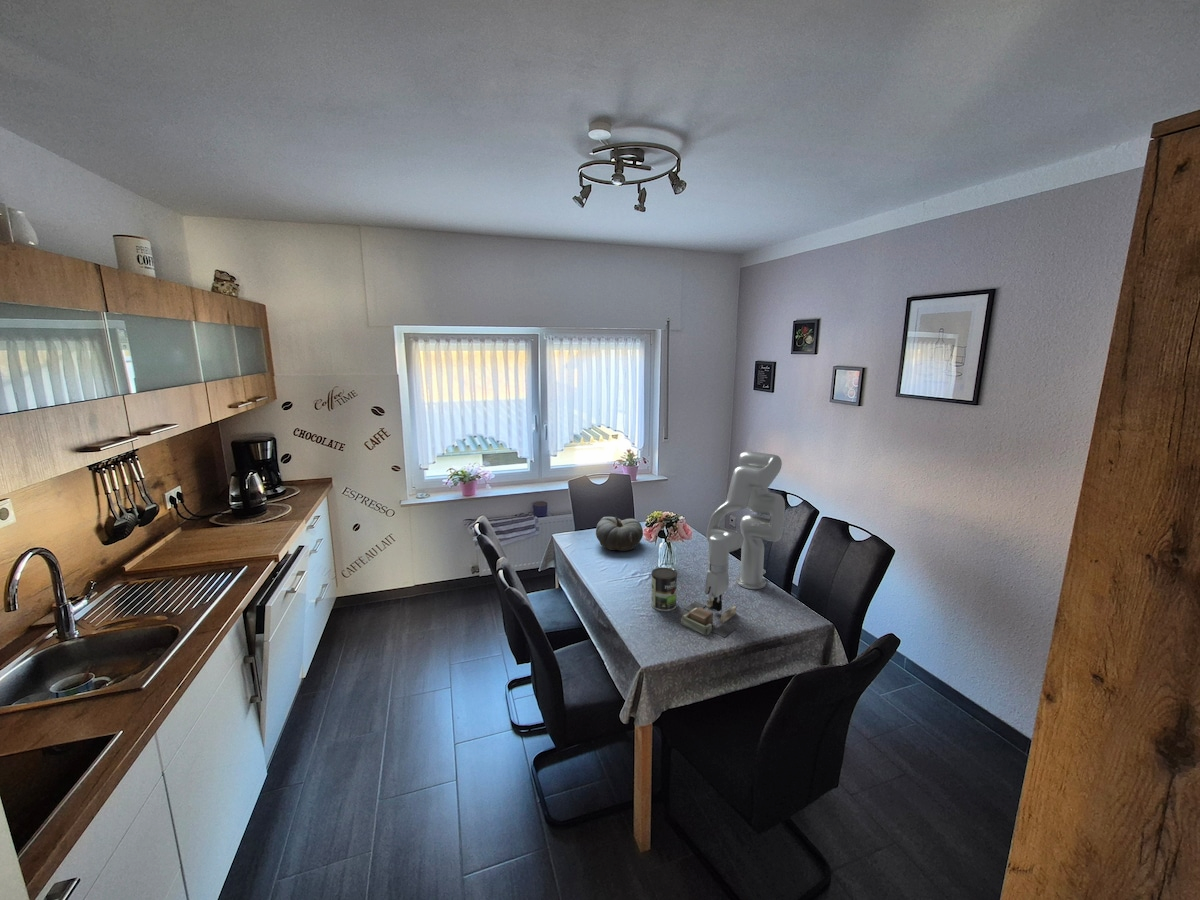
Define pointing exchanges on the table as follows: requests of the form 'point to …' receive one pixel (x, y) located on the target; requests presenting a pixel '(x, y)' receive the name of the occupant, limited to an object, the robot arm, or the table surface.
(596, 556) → the table surface
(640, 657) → the table surface
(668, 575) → the coffee can
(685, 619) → the trap lane
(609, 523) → the gourd
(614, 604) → the table surface
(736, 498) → the robot arm
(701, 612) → the block
